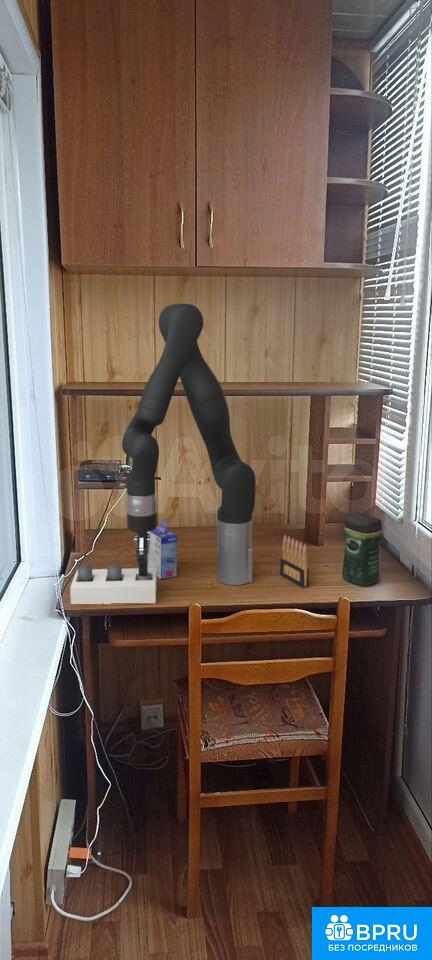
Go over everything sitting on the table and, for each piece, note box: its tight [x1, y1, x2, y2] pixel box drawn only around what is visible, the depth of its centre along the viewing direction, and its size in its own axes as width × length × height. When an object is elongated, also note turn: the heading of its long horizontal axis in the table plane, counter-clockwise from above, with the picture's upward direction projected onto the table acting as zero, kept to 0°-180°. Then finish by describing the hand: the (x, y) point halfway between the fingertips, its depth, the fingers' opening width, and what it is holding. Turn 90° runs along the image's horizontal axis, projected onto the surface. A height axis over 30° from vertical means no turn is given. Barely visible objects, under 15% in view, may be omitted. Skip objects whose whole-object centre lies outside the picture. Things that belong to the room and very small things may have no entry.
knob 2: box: [137, 573, 151, 580], centre depth 182 cm, size 4×4×4 cm
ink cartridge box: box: [147, 520, 178, 580], centre depth 195 cm, size 10×6×14 cm, turn 33°
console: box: [69, 567, 158, 605], centre depth 181 cm, size 21×12×5 cm, turn 93°
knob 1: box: [77, 564, 93, 582], centre depth 180 cm, size 4×4×4 cm
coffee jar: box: [342, 511, 383, 587], centre depth 189 cm, size 10×8×19 cm
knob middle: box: [106, 563, 123, 581], centre depth 181 cm, size 4×4×4 cm
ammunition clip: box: [279, 533, 310, 589], centre depth 190 cm, size 11×2×12 cm, turn 30°
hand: (143, 574), depth 181 cm, fingers closed
